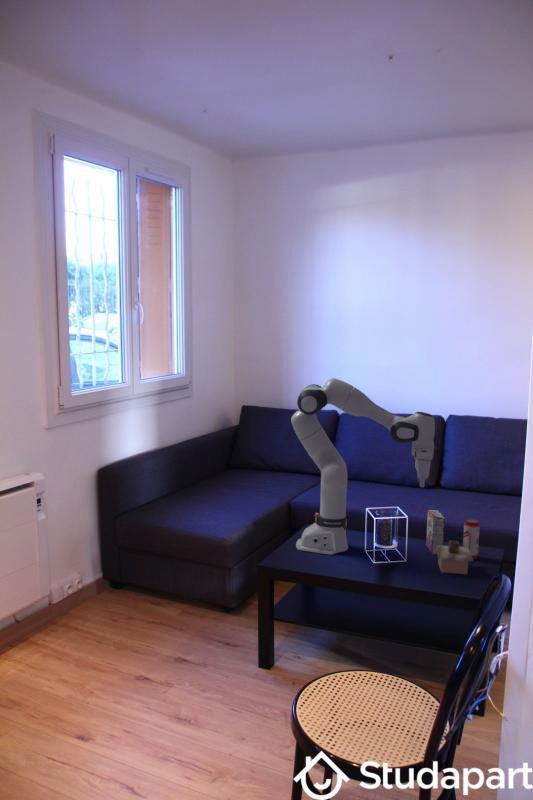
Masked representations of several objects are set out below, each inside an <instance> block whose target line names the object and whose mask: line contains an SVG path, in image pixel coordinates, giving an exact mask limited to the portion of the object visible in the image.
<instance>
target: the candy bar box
mask: <svg viewBox="0 0 533 800" xmlns="http://www.w3.org/2000/svg"><path fill="white" fill-rule="evenodd" d="M445 519H446V518H445V517H444V515H443V514H442V512H440V510H438V509H428V510H427V520H426V541H425V545H426V547H427V549H428V551H429V552H430V553H431V555H435V556H436V555H437V552H436V549H435V545H443V546H444V534H445Z"/></svg>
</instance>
